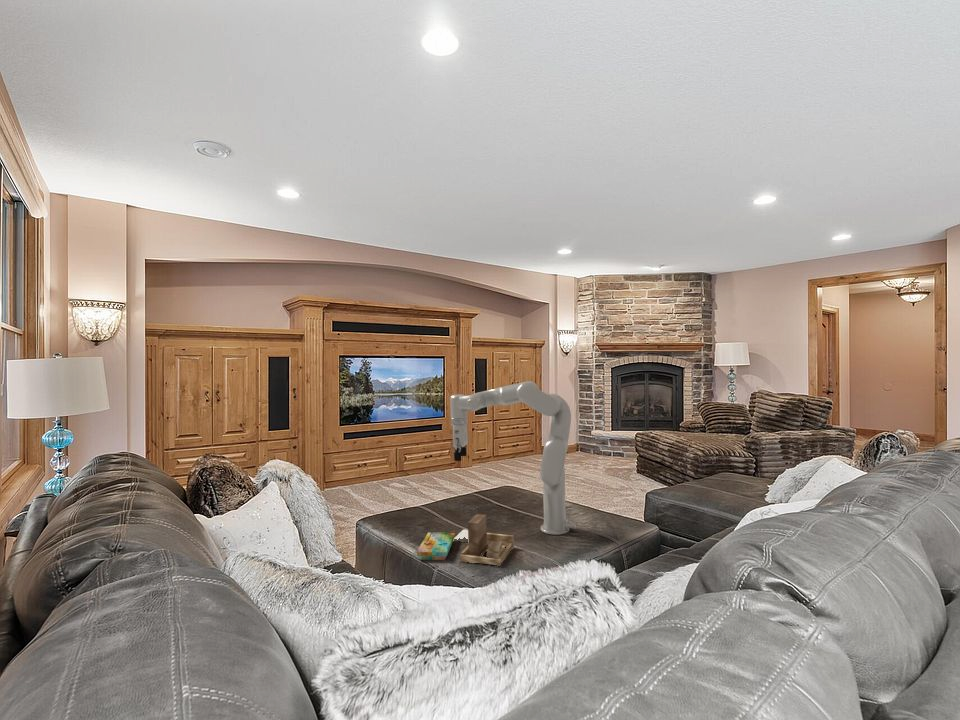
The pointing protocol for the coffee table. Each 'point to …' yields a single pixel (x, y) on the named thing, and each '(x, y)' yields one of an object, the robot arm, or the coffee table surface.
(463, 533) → the mat
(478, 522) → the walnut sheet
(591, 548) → the coffee table surface
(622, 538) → the coffee table surface
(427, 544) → the puzzle game
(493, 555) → the offcut low
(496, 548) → the offcut top
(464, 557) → the frame
